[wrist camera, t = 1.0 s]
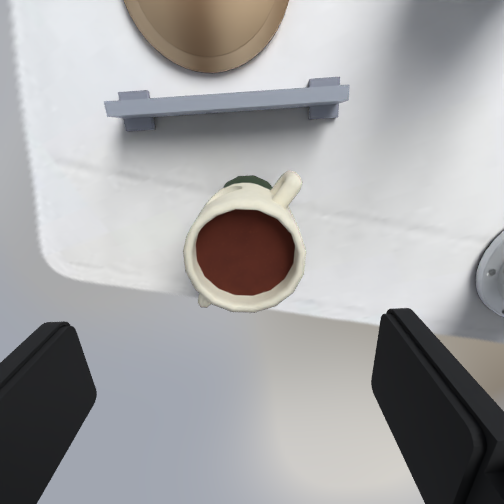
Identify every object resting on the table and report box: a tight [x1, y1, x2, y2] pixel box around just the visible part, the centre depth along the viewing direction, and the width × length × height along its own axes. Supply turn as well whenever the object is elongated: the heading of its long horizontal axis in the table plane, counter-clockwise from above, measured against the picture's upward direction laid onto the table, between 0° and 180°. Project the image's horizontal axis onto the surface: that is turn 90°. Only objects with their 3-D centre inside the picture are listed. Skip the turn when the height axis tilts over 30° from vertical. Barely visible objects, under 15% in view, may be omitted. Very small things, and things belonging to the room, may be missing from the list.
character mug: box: [183, 170, 306, 313], centre depth 22 cm, size 11×7×13 cm, turn 144°
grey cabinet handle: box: [104, 77, 349, 131], centre depth 23 cm, size 18×3×4 cm, turn 93°
